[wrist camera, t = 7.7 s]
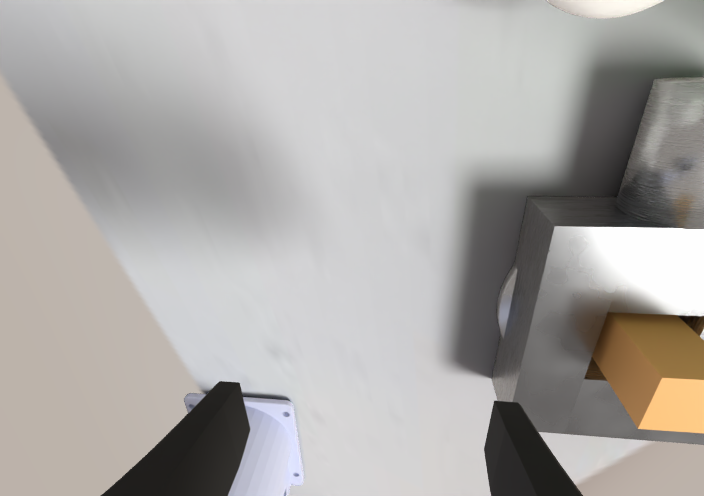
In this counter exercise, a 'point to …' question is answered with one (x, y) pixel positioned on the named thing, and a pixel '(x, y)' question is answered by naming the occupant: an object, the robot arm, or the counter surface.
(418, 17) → the counter surface
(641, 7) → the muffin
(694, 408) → the orange rectangular block
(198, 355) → the counter surface
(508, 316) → the grey slotted block
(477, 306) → the counter surface
